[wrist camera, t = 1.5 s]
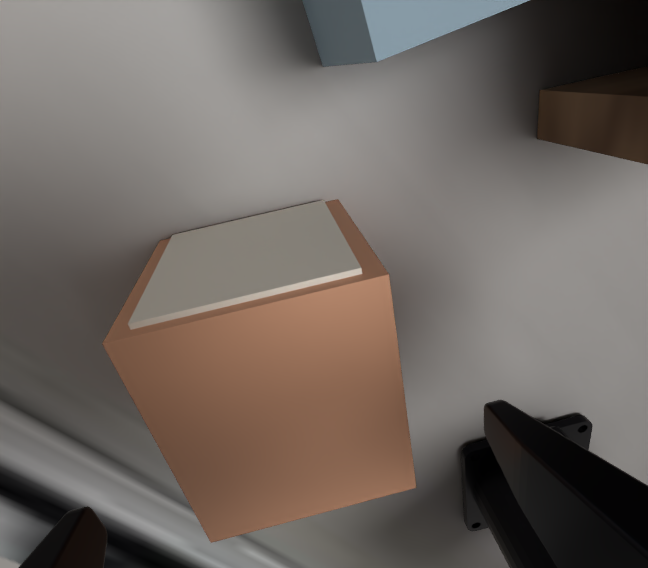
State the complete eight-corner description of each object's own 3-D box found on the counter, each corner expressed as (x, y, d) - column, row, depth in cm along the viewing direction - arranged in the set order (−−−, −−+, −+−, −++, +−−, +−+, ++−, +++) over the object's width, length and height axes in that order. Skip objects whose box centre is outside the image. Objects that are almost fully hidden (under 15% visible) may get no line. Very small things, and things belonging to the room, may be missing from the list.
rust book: (366, 360, 17) (416, 487, 12) (224, 396, 17) (211, 542, 12) (336, 193, 14) (388, 268, 9) (158, 235, 14) (99, 337, 8)
